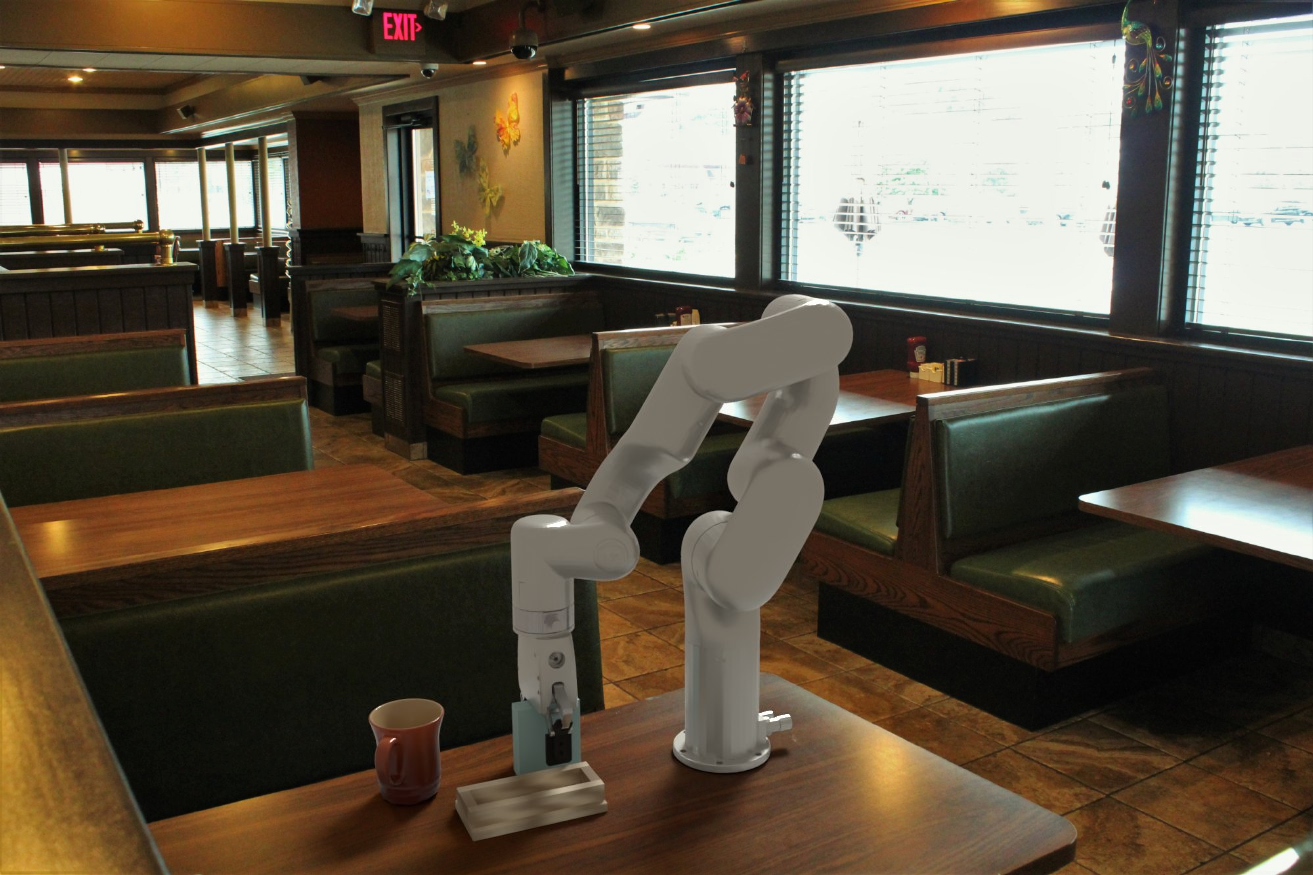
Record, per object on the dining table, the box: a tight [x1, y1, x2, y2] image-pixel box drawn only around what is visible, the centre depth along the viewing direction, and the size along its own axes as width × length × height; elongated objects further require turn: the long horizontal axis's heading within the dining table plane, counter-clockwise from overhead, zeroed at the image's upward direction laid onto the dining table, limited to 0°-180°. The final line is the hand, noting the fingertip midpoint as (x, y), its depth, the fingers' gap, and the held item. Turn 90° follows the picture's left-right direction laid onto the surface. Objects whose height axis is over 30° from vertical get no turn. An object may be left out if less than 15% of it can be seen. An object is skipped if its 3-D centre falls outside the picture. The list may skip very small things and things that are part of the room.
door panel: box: [511, 697, 582, 776], centre depth 142 cm, size 8×3×9 cm, turn 114°
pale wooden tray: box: [454, 761, 609, 842], centre depth 132 cm, size 16×8×3 cm, turn 114°
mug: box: [368, 698, 445, 806], centre depth 134 cm, size 12×9×10 cm
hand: (546, 746), depth 142 cm, fingers open, 9 cm apart
